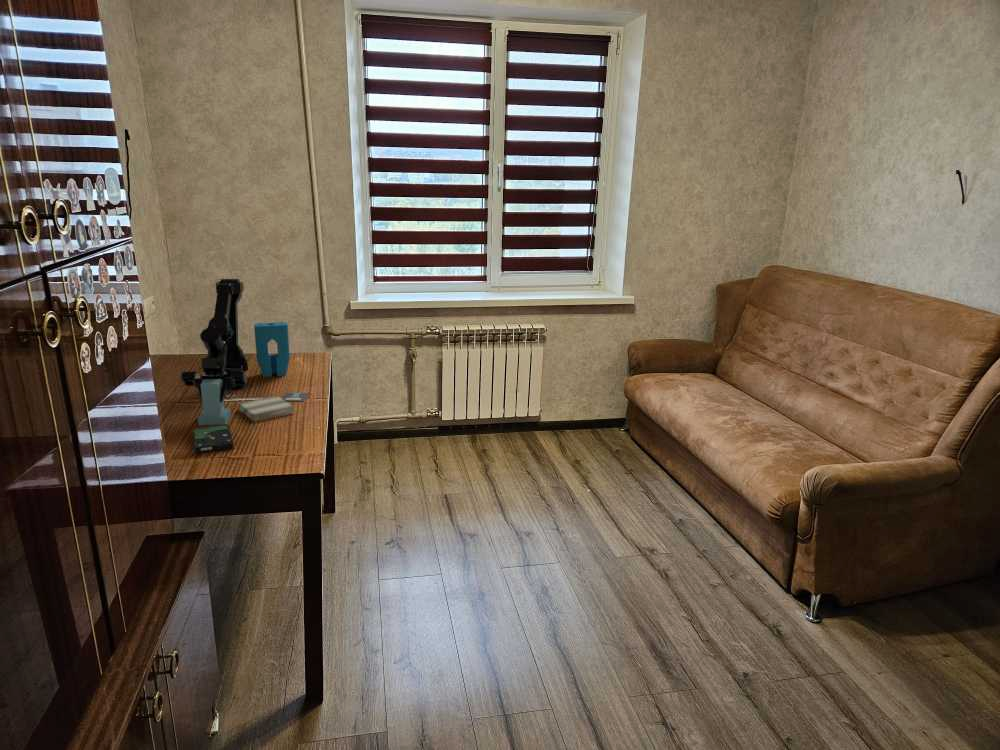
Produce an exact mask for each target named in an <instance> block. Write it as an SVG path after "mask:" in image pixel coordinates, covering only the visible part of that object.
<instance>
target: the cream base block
mask: <svg viewBox="0 0 1000 750" xmlns="http://www.w3.org/2000/svg"><path fill="white" fill-rule="evenodd" d="M238 406H239V411H240V412H241V413H243V414H244V415H245V416H247V417H248V418H249V419H250V420H251V421H252V422H254V423H256V422H260V421H261V422H262V421H266V420H271V419H274V418H280V417H284V416H289V415H293V414H294V406H293V405H291V404H290V403H289V402H288V401H284V400H283V399H282V397H280V396H279V395H273V396H268V397H262V398H258V399H253V400H248V401H244V402H242V401H241V402H239V403H238Z"/></svg>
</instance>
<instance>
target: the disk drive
mask: <svg viewBox="0 0 1000 750" xmlns="http://www.w3.org/2000/svg"><path fill="white" fill-rule="evenodd" d="M192 435H193V441H194V443H193V444H194V451H195V455H202V454H208V453H216V452H223V451H229V450H230V451H231V450H234V449H235V447H234V446H235V445H234V439H233V436H232V432H231V428H230V425H229V424H223V425H211V426H209V427H203V428H194V429H193V430H192Z"/></svg>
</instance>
